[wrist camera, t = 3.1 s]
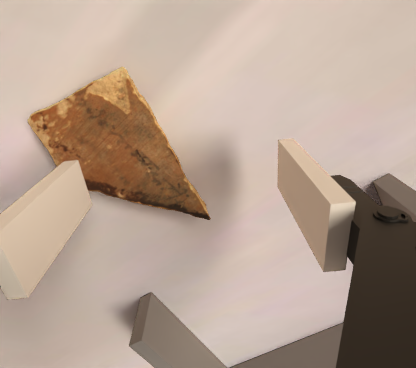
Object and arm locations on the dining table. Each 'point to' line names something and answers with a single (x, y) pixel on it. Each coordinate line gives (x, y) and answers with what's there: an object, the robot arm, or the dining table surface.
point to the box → (265, 364)
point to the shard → (117, 145)
